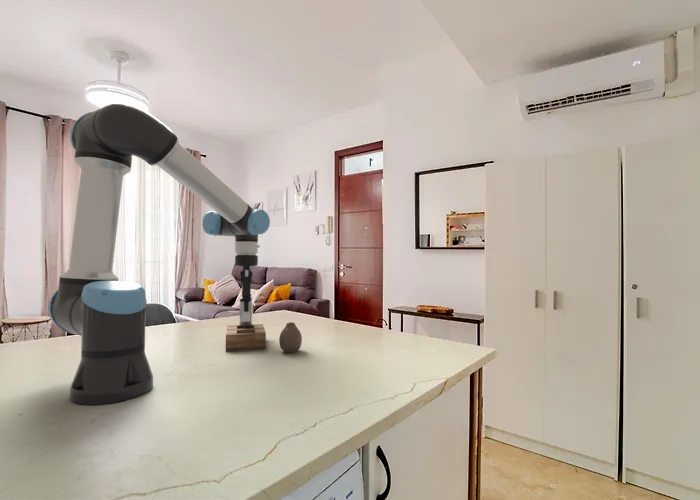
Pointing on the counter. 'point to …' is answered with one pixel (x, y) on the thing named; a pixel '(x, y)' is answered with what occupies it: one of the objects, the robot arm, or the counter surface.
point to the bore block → (245, 338)
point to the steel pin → (242, 324)
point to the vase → (290, 338)
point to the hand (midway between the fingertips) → (245, 318)
